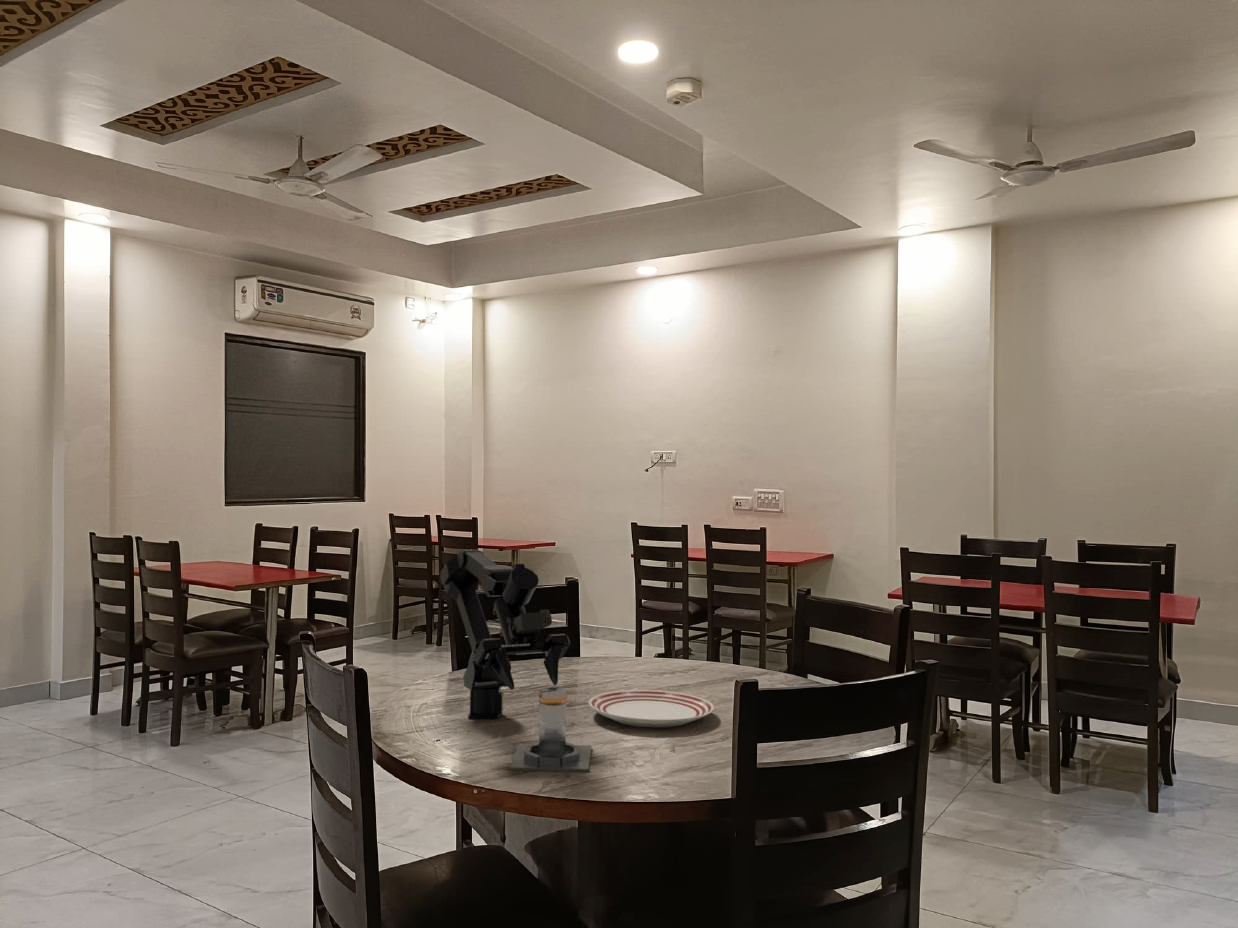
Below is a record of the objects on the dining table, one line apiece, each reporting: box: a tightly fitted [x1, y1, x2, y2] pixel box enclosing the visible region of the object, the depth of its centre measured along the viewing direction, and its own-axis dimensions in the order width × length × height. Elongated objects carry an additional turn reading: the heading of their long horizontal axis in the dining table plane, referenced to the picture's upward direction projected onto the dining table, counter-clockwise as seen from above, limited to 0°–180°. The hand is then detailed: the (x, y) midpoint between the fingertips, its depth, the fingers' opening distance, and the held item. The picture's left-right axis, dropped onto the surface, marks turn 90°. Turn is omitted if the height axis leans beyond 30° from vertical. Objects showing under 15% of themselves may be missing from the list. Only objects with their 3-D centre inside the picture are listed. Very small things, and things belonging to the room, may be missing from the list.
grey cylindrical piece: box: [538, 687, 568, 756], centre depth 167 cm, size 5×5×12 cm
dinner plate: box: [588, 689, 715, 728], centre depth 198 cm, size 28×27×3 cm
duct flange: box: [508, 741, 593, 773], centre depth 167 cm, size 14×14×2 cm
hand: (534, 686), depth 175 cm, fingers open, 9 cm apart
